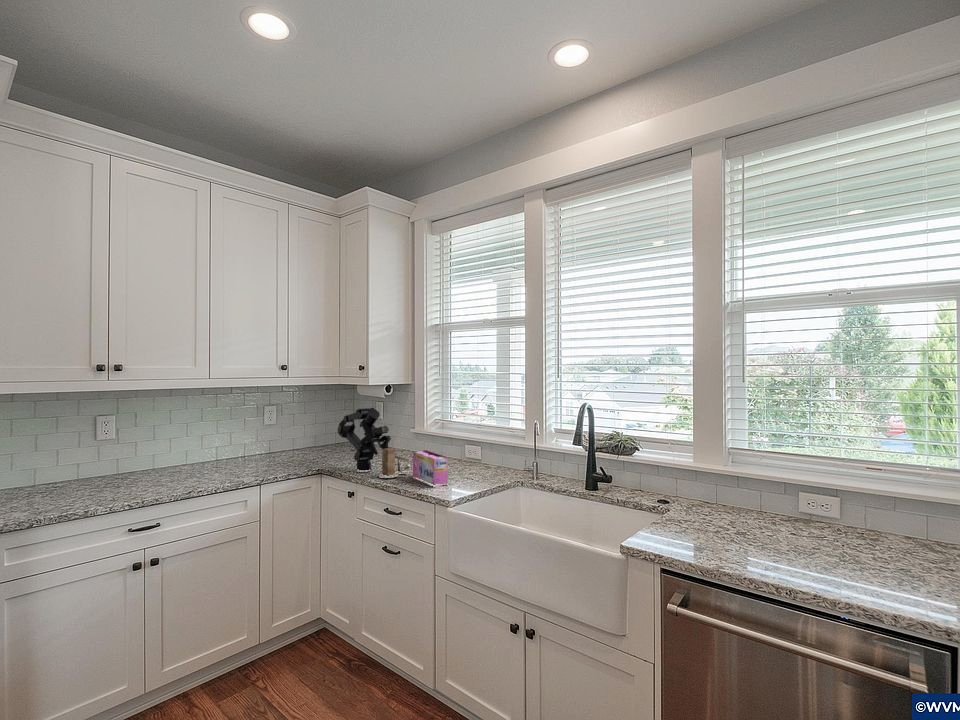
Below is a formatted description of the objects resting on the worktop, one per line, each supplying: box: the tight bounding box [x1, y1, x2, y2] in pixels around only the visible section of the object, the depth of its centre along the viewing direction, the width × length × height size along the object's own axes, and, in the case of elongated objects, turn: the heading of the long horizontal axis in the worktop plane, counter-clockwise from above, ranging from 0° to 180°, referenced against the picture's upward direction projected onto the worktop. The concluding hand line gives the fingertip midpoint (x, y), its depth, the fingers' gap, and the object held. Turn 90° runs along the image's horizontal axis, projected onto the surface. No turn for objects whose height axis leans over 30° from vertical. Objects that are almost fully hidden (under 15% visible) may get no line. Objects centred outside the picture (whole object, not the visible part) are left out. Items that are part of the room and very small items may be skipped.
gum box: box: [412, 449, 449, 485], centre depth 238 cm, size 24×8×14 cm, turn 34°
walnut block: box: [381, 447, 396, 476], centre depth 247 cm, size 4×4×13 cm
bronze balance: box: [395, 455, 413, 471], centre depth 254 cm, size 14×4×10 cm, turn 82°
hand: (382, 454), depth 249 cm, fingers open, 9 cm apart
